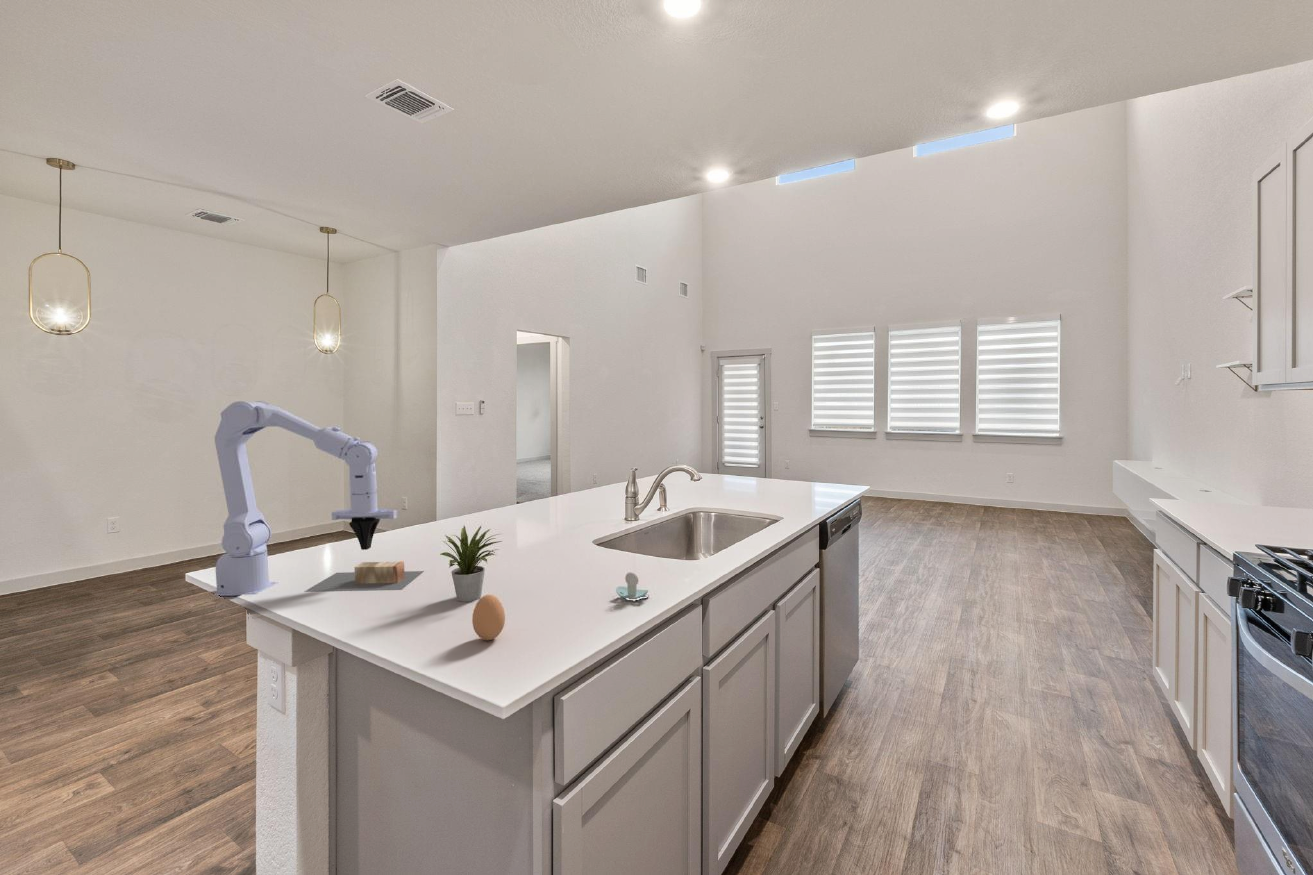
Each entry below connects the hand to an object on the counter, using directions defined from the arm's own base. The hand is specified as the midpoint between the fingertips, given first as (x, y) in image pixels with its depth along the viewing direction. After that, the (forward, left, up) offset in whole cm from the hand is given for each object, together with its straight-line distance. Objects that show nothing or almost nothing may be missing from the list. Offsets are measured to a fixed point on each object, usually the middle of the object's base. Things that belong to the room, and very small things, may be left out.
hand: (366, 548), depth 136 cm
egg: (+38, -34, -9) cm, 52 cm away
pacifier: (+64, -14, -9) cm, 67 cm away
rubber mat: (0, 0, -8) cm, 8 cm away
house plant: (+28, -13, -9) cm, 32 cm away
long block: (-2, 0, -6) cm, 6 cm away
